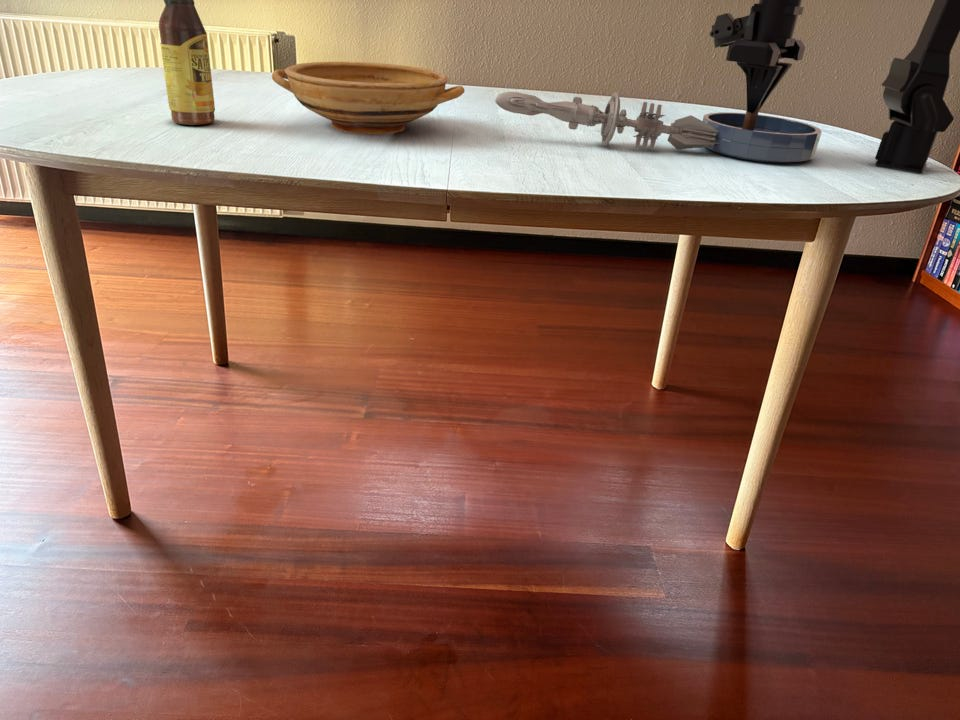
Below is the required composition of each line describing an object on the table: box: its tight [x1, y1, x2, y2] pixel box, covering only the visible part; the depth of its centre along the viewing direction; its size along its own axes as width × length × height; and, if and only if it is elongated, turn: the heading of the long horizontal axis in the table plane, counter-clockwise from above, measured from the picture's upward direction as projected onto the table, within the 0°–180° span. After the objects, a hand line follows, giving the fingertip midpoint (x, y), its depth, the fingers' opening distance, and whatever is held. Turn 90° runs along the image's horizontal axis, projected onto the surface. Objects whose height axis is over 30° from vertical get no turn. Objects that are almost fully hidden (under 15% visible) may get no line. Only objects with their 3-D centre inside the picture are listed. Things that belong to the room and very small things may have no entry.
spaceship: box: [494, 91, 720, 152], centre depth 104 cm, size 8×35×8 cm
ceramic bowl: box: [271, 61, 465, 135], centre depth 104 cm, size 30×24×8 cm
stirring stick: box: [742, 103, 761, 130], centre depth 105 cm, size 4×4×12 cm
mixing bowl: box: [702, 111, 823, 164], centre depth 108 cm, size 18×18×4 cm
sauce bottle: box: [158, 0, 216, 126], centre depth 96 cm, size 7×6×20 cm
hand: (752, 111), depth 105 cm, fingers closed on stirring stick, 2 cm apart
